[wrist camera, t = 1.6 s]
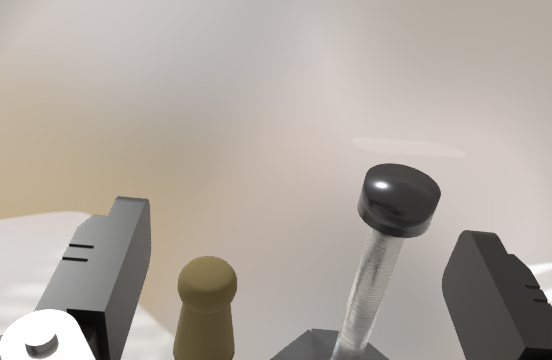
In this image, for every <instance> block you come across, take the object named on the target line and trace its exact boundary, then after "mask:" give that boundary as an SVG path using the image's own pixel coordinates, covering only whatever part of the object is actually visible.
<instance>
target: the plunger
mask: <svg viewBox="0 0 552 360" xmlns="http://www.w3.org/2000/svg"><path fill="white" fill-rule="evenodd" d="M440 196H441V192H440V188H439V186H438V185H437V183H436V182H435V181H434V180H433V179H432V178H430V177H429V176H428V175H426V174H425V173H423V172H421V171H419V170H417V169H415V168H412V167H409V166H405V165H400V164H380V165H376V166H374V167H372V168H370V169H369V171H368V172H367V174H366V177H365V180H364V184H363V187H362V192H361V195H360V199H359V202H358V212H359V215H360V216H361V218H362V219H363V220H364V222H365V223H367V224H368V225H369V226H370V229H369V233H368V236H367V239H366V243H365V246H364V249H363V253H362V256H361V260H360V263H359V266H358V270H357V273H356V276H355V280H354V283H353V287H352V290H351V293H350V296H349V300H348V303H347V307H346V310H345V314H344V316H343V320H342V323H341V327H340V330H339V333H338V337H337V340H336V343H335V347H334V350H333V353H332V357H331V360H361V359H362V356H363V353H364V350H365V348H366V345H367V342H368V339H369V336H370V334H371V331H372V328H373V325H374V322H375V319H376V316H377V314H378V311H379V308H380V305H381V302H382V300H383V297H384V294H385V291H386V289H387V286H388V283H389V280H390V277H391V275H392V272H393V269H394V266H395V263H396V260H397V258H398V255H399V252H400V249H401V247H402V244H403V241H404V238H412V237H417V236H419V235H422V234H423V233H425V232H426V230H427V229H428V227H429V225H430V222H431V220H432V217H433V215H434V212H435V209H436V207H437V204H438V202H439V199H440Z"/></svg>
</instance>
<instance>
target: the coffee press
mask: <svg viewBox="0 0 552 360" xmlns="http://www.w3.org/2000/svg"><path fill="white" fill-rule="evenodd" d="M338 333H339V331H332V330H321V329H312V330H311V331H310V330H307V331H306V332H305V333H304V334H302V335H301V336H300V337H298V338H297V339H296V340H294V341H293V342H292V343H290V344H289V345H288V346H287V347H285V348H284V349H283V350H281V351H280V352H279V353H278V354H277V355H275V356H274V357H273V358H272V359H270V360H331V357H332V353H333V350H334V347H335V343H336V340H337V337H338ZM361 360H389V359H388V358H386V357H385V356H384V355H383V354H381V353H380V352H379V351H378V350H377V349H376V348H374V347H373V346H372V345H371V344H370V343H368V342H367V345H366V348H365V350H364V353H363V356H362V359H361Z"/></svg>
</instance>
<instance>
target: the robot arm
mask: <svg viewBox="0 0 552 360" xmlns="http://www.w3.org/2000/svg"><path fill="white" fill-rule="evenodd" d="M150 254H151V229H150V204H149V200H148V199H142V198H131V197H120V196H118V197H117V198H116V199H115V202H114V204H113V206H112V208H111V210H110V212H109V215H108V216H102V215H92V216H91V217H90V218H89V219H87V220H86V221H85V222H84V223H83V224H81V225H80V226H79V227H78V228H77V230H76V231H75V233H74V235H73V237H72V239H71V241H70V243H69V247H67V249H66V251H65V253H64V255H63V258H62V260H60V262H59V264H58V266H57V268H56V270H55V272H54V274H53V276H52V278H51V280H50V282H49V284H48V286H47V288H46V289H45V291H44V293H43V295H42V297H41V299H40V301H39V303H38V305H37V307H36V309H35V310H34V312H33V313H31V314H28V315H26V316H24V317H22V318H21V319H19V320H17V321H16V322H15V323H14V324H12V325H11V326H10V327H9V328H8V329H7V331H6V332H5V334H3V335H1V336H0V360H120V359H121V356H122V353H123V349H124V346H125V343H126V340H127V336H128V333H129V330H130V326H131V323H132V320H133V317H134V313H135V310H136V307H137V303H138V300H139V297H140V294H141V290H142V287H143V284H144V280H145V277H146V274H147V270H148V267H149V262H150ZM442 291H443V296H444V299H445V302H446V304H447V307H448V310H449V313H450V316H451V319H452V321H453V324H454V327H455V330H456V333H457V335H458V338H459V341H460V343H461V347H462V349H463V352H464V355H465V358H466V360H552V306H551V305H550V304H549V303H548V302H547V301H548V299H547V298H546V296H545V294H544V293H543V291H542V290H540V286H539V284H538V282H537V280H536V279H535V277H534V275H533V274H532V272H531V270H530V269H529V268H528V267H527V266H526V265H525V264H524V263H523V262H522V261H520V260H519V259H518V258H517V257H516V256H515V255H514V254H508V253H507V252H506V250H505V248H504V246H503V244H502V242H501V241H500V239H499V237H498V236H497V235H496V234H495V233H490V232H479V231H469V230H465V231H463V232H462V233H461V234H460V236H459V238H458V241H457V243H456V245H455V248H454V250H453V252H452V255H451V257H450V259H449V262H448V264H447V266H446V268H445V271H444V274H443V278H442Z"/></svg>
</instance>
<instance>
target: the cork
mask: <svg viewBox="0 0 552 360" xmlns="http://www.w3.org/2000/svg"><path fill="white" fill-rule="evenodd" d="M236 291H237V277H236V274H235V272H234V270H233V268H232V267H231V266H230V265H229V264H228V263H227V262H226V261H224V260H222V259H220V258H217V257H213V256H204V257H199V258H196V259H194V260H192V261H190V262H189V263H188V264H187V265H186V266H185V267H184V268H183V269H182V271H181V273H180V275H179V278H178V292H179V295H180V298H181V300H182V301H183V303H182V308H181V313H180V318H179V322H178V327H177V332H176V337H175V342H174V348H173V355H174V358H175V360H232V359H233V356H234V338H233V327H232V316H231V307H230V306H231V305H230V303H231V302H232V300H233V298H234V296H235V293H236Z"/></svg>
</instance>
